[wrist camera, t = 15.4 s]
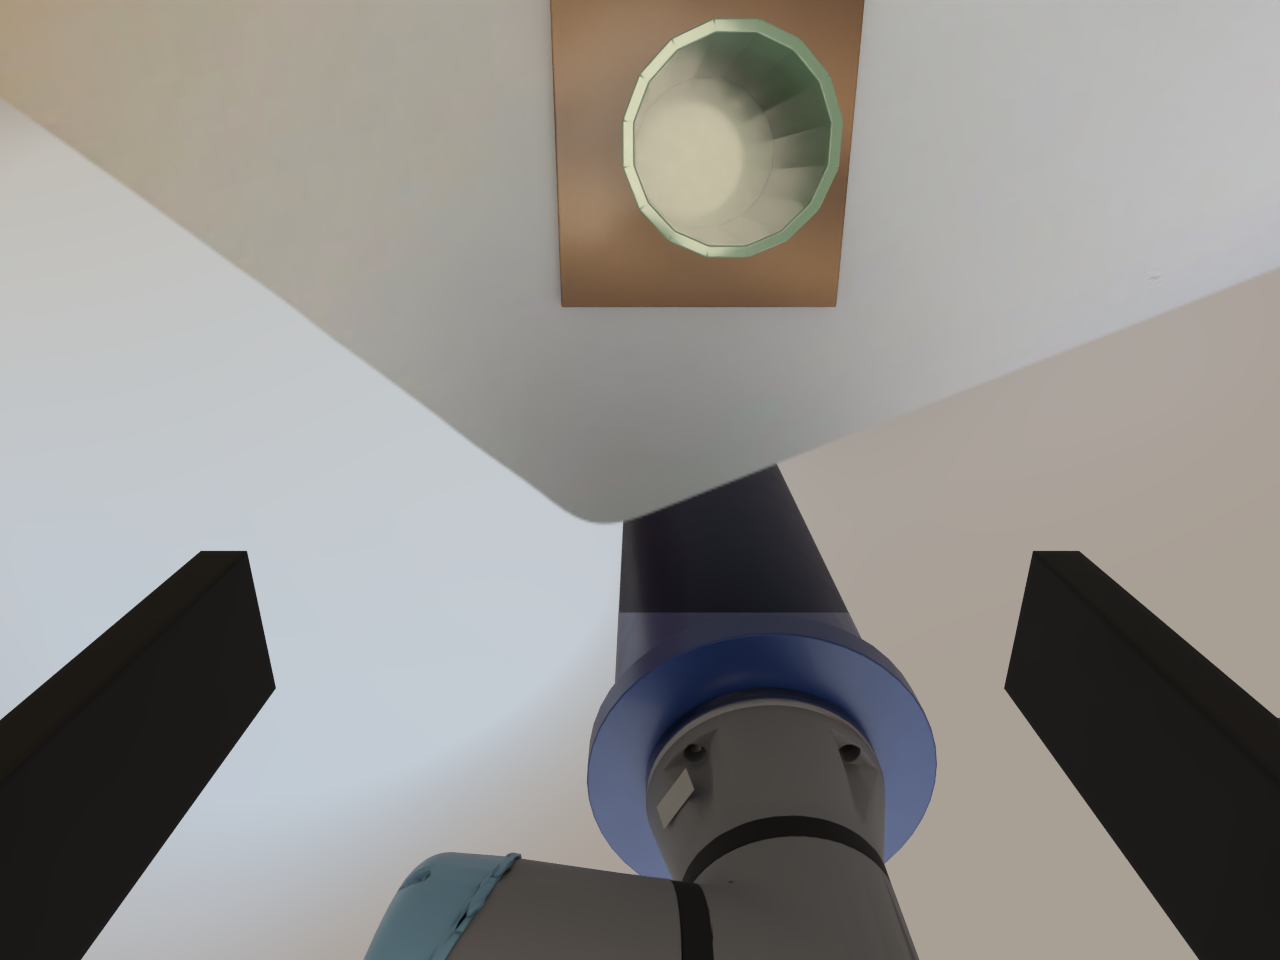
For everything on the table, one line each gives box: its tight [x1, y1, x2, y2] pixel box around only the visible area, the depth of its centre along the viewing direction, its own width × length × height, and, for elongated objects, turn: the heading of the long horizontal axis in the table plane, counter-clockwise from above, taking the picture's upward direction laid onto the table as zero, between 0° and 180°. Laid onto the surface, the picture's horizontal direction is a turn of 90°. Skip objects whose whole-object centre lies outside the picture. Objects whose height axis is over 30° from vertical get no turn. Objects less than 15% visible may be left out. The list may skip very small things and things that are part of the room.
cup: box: [622, 18, 843, 258], centre depth 31 cm, size 7×7×12 cm
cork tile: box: [550, 0, 864, 307], centre depth 36 cm, size 14×14×1 cm
